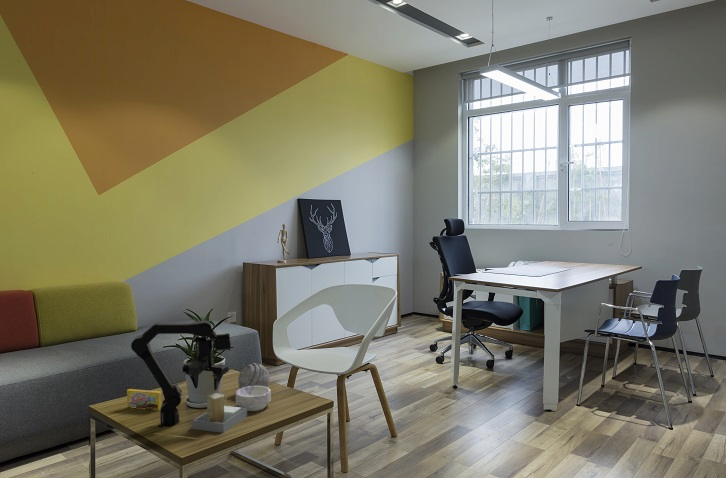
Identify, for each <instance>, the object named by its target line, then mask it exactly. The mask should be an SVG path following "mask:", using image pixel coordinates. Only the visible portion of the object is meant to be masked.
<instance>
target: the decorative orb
mask: <svg viewBox="0 0 726 478" xmlns="http://www.w3.org/2000/svg"><path fill="white" fill-rule="evenodd" d="M270 378H271V377H270V373H269V371H268V369H267V368H266V367H265V366H264V365H262V364H260V363H256V362H250V363H248V364H247V365H245V366H244V367H243V368H242V369H241V371H240V373H239V376H238V379H237V384H238V388H239V389H241V388H244V387H248V386H265V387H269V385H270V380H271V379H270Z"/></svg>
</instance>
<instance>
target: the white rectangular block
mask: <svg viewBox="0 0 726 478" xmlns="http://www.w3.org/2000/svg"><path fill="white" fill-rule="evenodd" d="M240 411H241V407H240V406H229V405H224V421H227V420H228V419H230V418H231V417H233V416H234V415H236V414H237V413H239V412H240Z"/></svg>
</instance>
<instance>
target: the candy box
mask: <svg viewBox="0 0 726 478" xmlns="http://www.w3.org/2000/svg"><path fill="white" fill-rule="evenodd" d="M126 399H127V408H128V407H136V408H145V409H153V410H152V411H158V410H161V405H162V392H161V390H160V391H158V390H146V389H134V388H128V389H127V390H126ZM145 409H144V410H145Z"/></svg>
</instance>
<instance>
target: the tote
mask: <svg viewBox="0 0 726 478" xmlns="http://www.w3.org/2000/svg"><path fill="white" fill-rule="evenodd" d="M247 417H248V411H247V408H241V411H240V412H239V413H237V414H236V415H234V416H233V417H231V418H230V419H228V420H227V421H224V423H219V422H210V421H207V411H206V412H204V413H202V414H201V415H199V416H197V417H195V418H193V420H192V421H191V423H192V426H191V427H192V430H197V431H206V432H214V433H225V432H227V431H228V430H229V429H231V428H233V427H234V426H236V425H237V424H238V423H240V422H241V421H242V420H244V419H246V418H247Z"/></svg>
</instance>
